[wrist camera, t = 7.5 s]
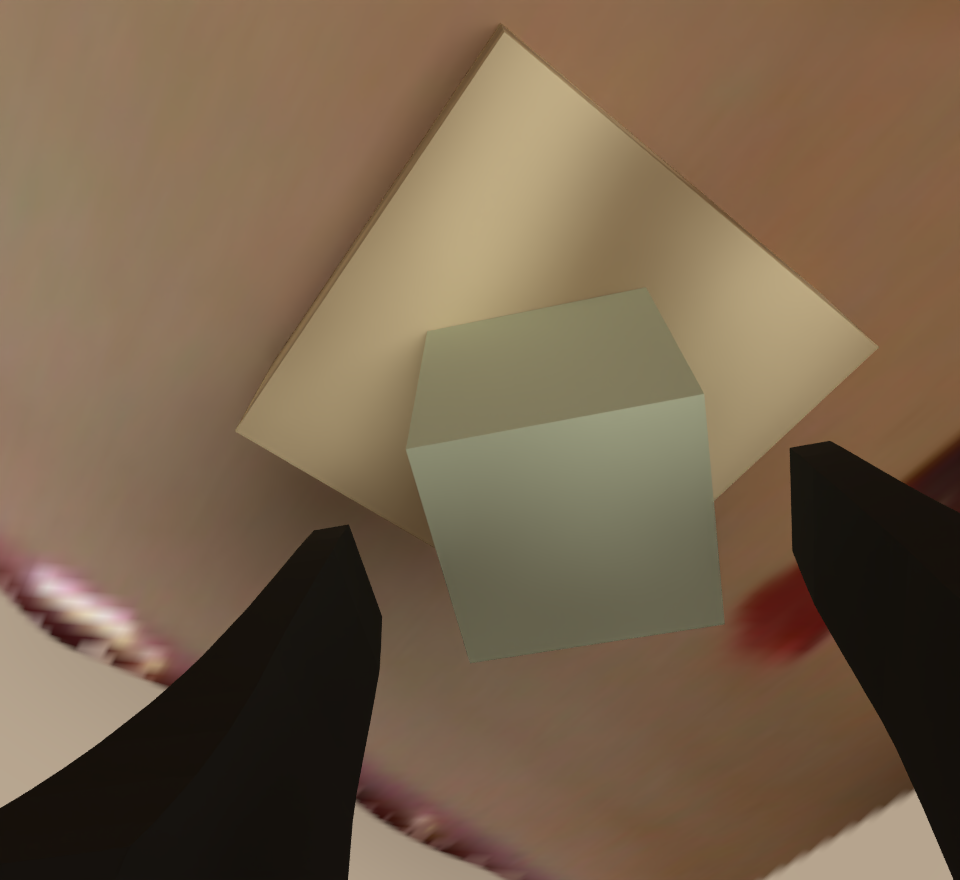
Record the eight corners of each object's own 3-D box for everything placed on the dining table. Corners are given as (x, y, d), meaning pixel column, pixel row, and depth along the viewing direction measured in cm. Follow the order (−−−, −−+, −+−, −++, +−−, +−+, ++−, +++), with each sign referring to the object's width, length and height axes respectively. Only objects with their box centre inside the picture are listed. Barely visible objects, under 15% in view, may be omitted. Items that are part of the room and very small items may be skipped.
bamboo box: (811, 285, 20) (879, 347, 17) (562, 538, 24) (575, 630, 21) (500, 22, 17) (504, 32, 14) (274, 358, 21) (234, 431, 18)
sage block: (646, 287, 16) (704, 394, 12) (668, 475, 18) (724, 624, 14) (427, 331, 17) (405, 449, 12) (474, 509, 19) (469, 663, 15)
